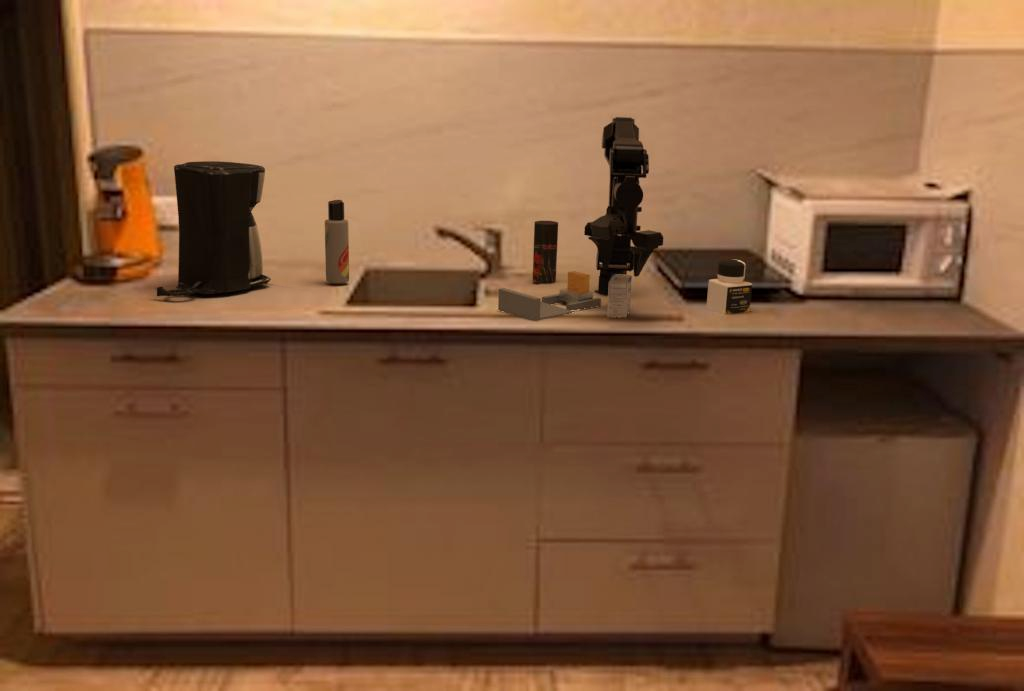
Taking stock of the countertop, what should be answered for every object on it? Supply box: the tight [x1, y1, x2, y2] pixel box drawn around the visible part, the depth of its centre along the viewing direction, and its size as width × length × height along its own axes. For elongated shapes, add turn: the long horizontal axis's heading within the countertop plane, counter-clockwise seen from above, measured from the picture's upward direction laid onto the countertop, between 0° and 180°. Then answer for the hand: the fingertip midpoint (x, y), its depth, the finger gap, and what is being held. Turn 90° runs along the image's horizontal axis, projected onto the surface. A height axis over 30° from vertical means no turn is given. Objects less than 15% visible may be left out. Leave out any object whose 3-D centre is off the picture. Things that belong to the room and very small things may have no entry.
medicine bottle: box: [706, 258, 753, 315], centre depth 232 cm, size 7×7×12 cm
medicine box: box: [606, 274, 633, 319], centre depth 226 cm, size 8×4×9 cm, turn 168°
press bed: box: [497, 287, 602, 322], centre depth 230 cm, size 22×12×5 cm, turn 131°
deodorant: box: [532, 220, 559, 285], centre depth 257 cm, size 6×6×15 cm
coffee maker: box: [154, 160, 272, 297], centre depth 238 cm, size 20×28×29 cm
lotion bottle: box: [324, 199, 350, 284], centre depth 249 cm, size 6×6×20 cm
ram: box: [558, 270, 594, 303], centre depth 234 cm, size 5×6×6 cm
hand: (620, 272), depth 225 cm, fingers open, 9 cm apart
